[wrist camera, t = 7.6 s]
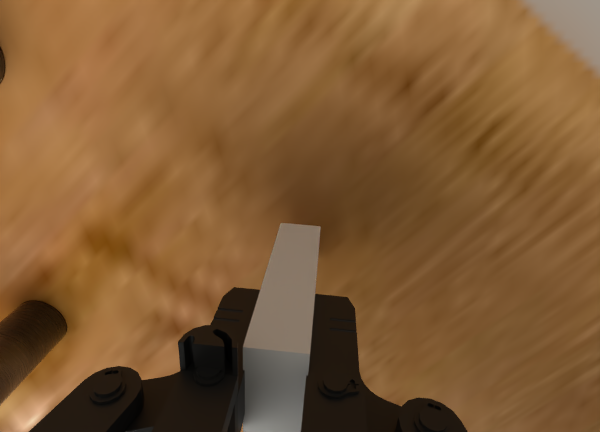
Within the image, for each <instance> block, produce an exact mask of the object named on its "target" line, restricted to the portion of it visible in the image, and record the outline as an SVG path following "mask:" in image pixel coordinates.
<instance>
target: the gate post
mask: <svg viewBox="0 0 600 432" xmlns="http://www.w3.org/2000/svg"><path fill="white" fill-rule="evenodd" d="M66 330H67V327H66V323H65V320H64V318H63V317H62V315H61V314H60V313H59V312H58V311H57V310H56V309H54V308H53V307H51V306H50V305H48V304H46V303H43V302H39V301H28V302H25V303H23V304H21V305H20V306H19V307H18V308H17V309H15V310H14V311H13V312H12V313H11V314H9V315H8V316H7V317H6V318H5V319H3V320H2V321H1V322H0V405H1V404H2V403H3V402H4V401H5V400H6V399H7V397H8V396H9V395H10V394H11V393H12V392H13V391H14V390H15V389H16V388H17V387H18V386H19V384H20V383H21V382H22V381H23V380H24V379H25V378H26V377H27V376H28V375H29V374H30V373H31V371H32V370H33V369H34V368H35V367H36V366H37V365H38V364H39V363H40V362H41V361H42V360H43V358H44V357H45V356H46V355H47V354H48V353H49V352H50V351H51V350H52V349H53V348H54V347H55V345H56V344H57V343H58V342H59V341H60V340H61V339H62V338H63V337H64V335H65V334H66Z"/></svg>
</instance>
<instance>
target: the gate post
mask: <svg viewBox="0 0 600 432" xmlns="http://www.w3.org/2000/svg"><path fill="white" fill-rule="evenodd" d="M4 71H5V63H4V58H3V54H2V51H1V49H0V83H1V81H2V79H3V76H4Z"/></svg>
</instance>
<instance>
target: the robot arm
mask: <svg viewBox="0 0 600 432" xmlns="http://www.w3.org/2000/svg"><path fill="white" fill-rule="evenodd" d="M320 230H321V226H312V225H300V224H289V223H281V224H280V227H279V230H278V234H277V237H276V240H275V243H274V247H273V250H272V253H271V256H270V260H269V263H268V266H267V270H266V273H265V276H264V279H263V283H262V286H261V289H260V290H256V289H245V288H235V287H234V288H233V289H231V290H230V291H229V292H228V293H227V294H225V295H224V296H223V298H222V300H221V302H220V304H219V307H218V310H217V311H216V314H215V316H214V320H212V323H211V325H205V326H201V327H198V328H194V329H192V330H191V331H189V332H187V333H186V334H184V335H183V337H182V338H181V339H180V340H179V341H178V347H179V358H180V369H181V370H180V372H177V373H175V374H173V375H170V376H165V377H161V378H154V379H148V380H141V378H140V376H139V374H138V372H136V371H135V370H133V369H131V368H128V367H121V366H117V367H110V368H106V369H103V370H101V371H98V372H96V373H94V374H92V375H91V376H90V377H88V378H87V379H85V380H84V381H83V382H82V383H81V384H80V385H79V386H78V387H76V388H75V389H74V390H73V391H72V392H71V393H70V394H69V395H68V396H67V397H66V398H65V399H64V400H62V401H61V402H60V403H59V404H58V405H57V406H56V407H55V408H54V409H53V410H52V411H51V412H50V413H48V414H47V415H46V416H45V417H44V418H43V419H42V420H41V421H40V422H39V423H38V424H37V425H36V426H34V427H33V428H32V429H31V430H30V431H29V432H240V431H241V427H242V423H243V432H467V430H466V428H465V427H464V425H463V423H462V422H461V420H460V419H459V418H458V417H457V415H456V414H455V413H454V412H453V411H452V410H451V409H449V408H448V407H446V406H445V405H444V404H442V403H440V402H437V401H435V400H432V399H428V398H415V399H412V400H408V401H407V402H406V403H405V404H404V405H403V406H402V407H401V406H399V405H396V404H394V403H391V402H389V401H386V400H384V399H382V398H380V397H378V396H377V395H375V394H374V393H373V392H371V391H370V390H369V389H368V388H367V387H366V385H365V384H364V383H363V381H362V379H361V376H360V372H359V361H358V346H357V333H356V317H355V308H354V306H353V305H352V303H351V302H350V300H349V299H348V297H340V296H330V295H319V294H315V289H316V277H317V265H318V253H319V242H320Z"/></svg>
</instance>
